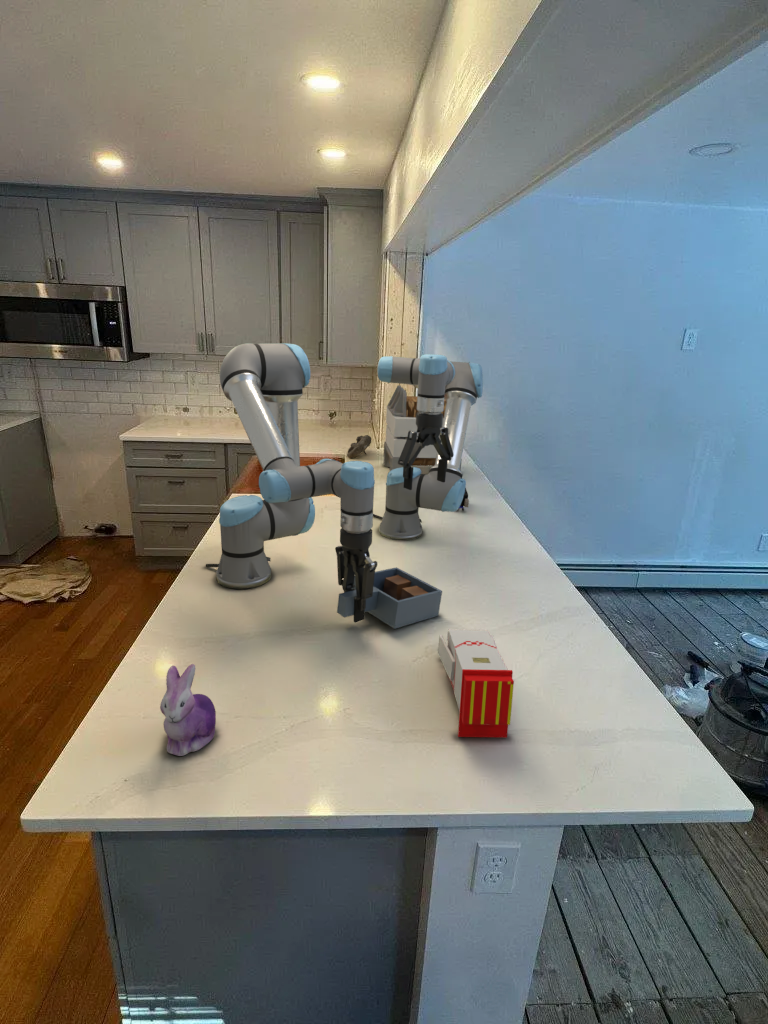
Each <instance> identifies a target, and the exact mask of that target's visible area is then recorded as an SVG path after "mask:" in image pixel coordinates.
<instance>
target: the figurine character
mask: <svg viewBox="0 0 768 1024" xmlns="http://www.w3.org/2000/svg"><path fill="white" fill-rule="evenodd" d="M469 505H470V500H469V492H468V490H467V488H466V487H465V493H464V496H463V500H462V502H461V505H460V507H459V508H458V509H461V511H462V512H464V511H465V508H469ZM457 511H458V510H456V511H455V512H457Z"/></svg>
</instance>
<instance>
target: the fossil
mask: <svg viewBox="0 0 768 1024" xmlns="http://www.w3.org/2000/svg"><path fill="white" fill-rule="evenodd" d="M355 441H356V442H352V443H350V446H349V448H348V449H347V457H348V458H349V459H355V458H357V457H359V456H360V455H361V454H362V453H364V455H367V453H366V450H367V448H368V447H370V446H371V444H372V437H371V435H369V434H366V435H359V436H357V437H356V440H355Z"/></svg>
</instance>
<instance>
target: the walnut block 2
mask: <svg viewBox="0 0 768 1024" xmlns="http://www.w3.org/2000/svg"><path fill="white" fill-rule="evenodd" d="M426 593H428V592H426V591H425V590H423V589H421V588H420V587H418V586H413V587H407V588H402V594H401V600H402V599H406V598H410V597H414V596H418V595H422V594H426Z"/></svg>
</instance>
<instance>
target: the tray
mask: <svg viewBox="0 0 768 1024" xmlns="http://www.w3.org/2000/svg"><path fill="white" fill-rule="evenodd" d="M396 575H399V576H401V577H403V578H405V579H407V580H409V581H411V585H410V587H413V586H418V587H420V588H421V589H423V590H425V591H426V592H428V593H426V594H422V595H418V596H414V597H410V598H406V599H402V600H399V601H398V600H396V599H395V598H393V597H391V596H389V595H388V594H386V593H384V592H383V590H384V582H385V578H387V577H392V576H396ZM354 585H355V587H354V588H352V589H355V590H353V591H349V592H344V591H343V592H339V593H338V599H337V600H338V601H337V606H336V607H337V609H336V613H337V614H338V615H339V616H341V617H343V618H348V617H352V616H354V597H356V596H357V595H356V582H355V577H354ZM442 596H443V590H441V589H439V588H437V586H436V587H435V585H431V584H430V583H428V582H426V581H424V580H422V579H421V578H418V577H416V576H414V575H412V574H410V573H408V572H406V571H404V570H403V569H401V568H399V567H397V566H396V567H391V568H387V569H382V570H377V571H376V570H375V575H374V586H373V596H372V597H370V598H367V599H366V608H365V612H364V613H369V614H370V615H372V616H373V617H375V618H377V619H378V620H379V621H381V622H382V623H384V624H386V625H388V626H389V627H391V628H392V629H394V630H395V629H399V628H401V627H405V626H409V625H411V624H415V623H419V622H422V621H425V620H429V619H432V618H436V617H438V616H439V614H440V607H441V601H442Z"/></svg>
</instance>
